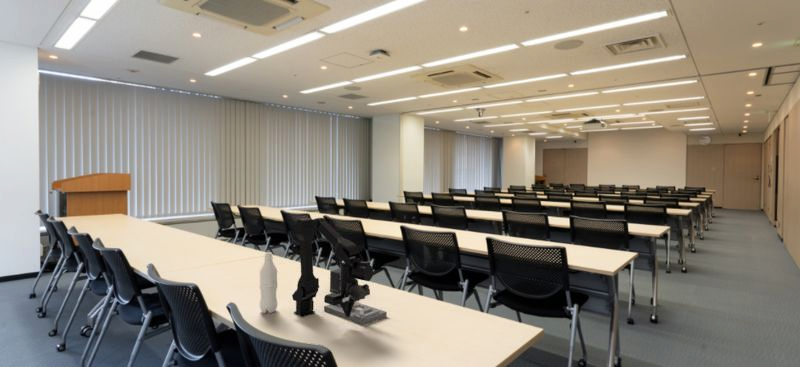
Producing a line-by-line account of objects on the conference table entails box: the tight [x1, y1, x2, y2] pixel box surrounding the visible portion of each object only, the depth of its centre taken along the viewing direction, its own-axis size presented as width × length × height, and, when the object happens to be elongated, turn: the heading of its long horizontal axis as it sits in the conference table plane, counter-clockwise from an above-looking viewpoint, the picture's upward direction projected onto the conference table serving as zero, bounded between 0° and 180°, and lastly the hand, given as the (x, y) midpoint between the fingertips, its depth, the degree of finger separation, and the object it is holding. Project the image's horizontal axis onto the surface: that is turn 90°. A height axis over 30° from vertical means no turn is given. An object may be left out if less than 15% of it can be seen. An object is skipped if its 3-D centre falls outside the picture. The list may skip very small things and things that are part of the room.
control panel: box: [323, 302, 387, 326], centre depth 168 cm, size 13×24×4 cm, turn 48°
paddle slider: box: [355, 307, 364, 318], centre depth 159 cm, size 2×3×3 cm, turn 48°
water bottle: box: [259, 251, 278, 314], centre depth 170 cm, size 7×7×25 cm
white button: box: [353, 300, 360, 307], centre depth 168 cm, size 3×3×2 cm
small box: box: [329, 267, 341, 295], centre depth 201 cm, size 11×6×10 cm, turn 143°
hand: (347, 316), depth 154 cm, fingers closed
